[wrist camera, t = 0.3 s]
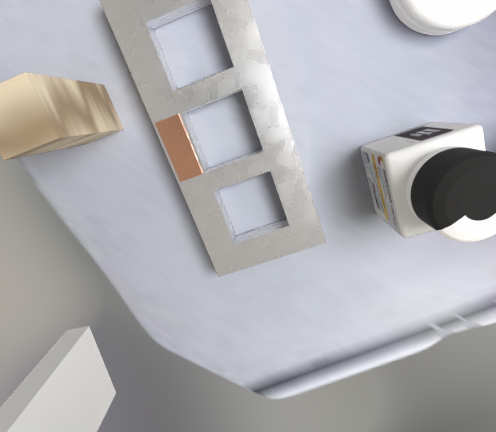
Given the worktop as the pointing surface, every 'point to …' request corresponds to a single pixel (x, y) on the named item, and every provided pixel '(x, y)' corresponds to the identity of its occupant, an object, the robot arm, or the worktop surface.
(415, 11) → the coaster
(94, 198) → the worktop surface
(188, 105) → the slotted peg board
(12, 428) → the robot arm
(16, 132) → the beech peg
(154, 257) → the worktop surface
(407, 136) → the container
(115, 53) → the worktop surface
